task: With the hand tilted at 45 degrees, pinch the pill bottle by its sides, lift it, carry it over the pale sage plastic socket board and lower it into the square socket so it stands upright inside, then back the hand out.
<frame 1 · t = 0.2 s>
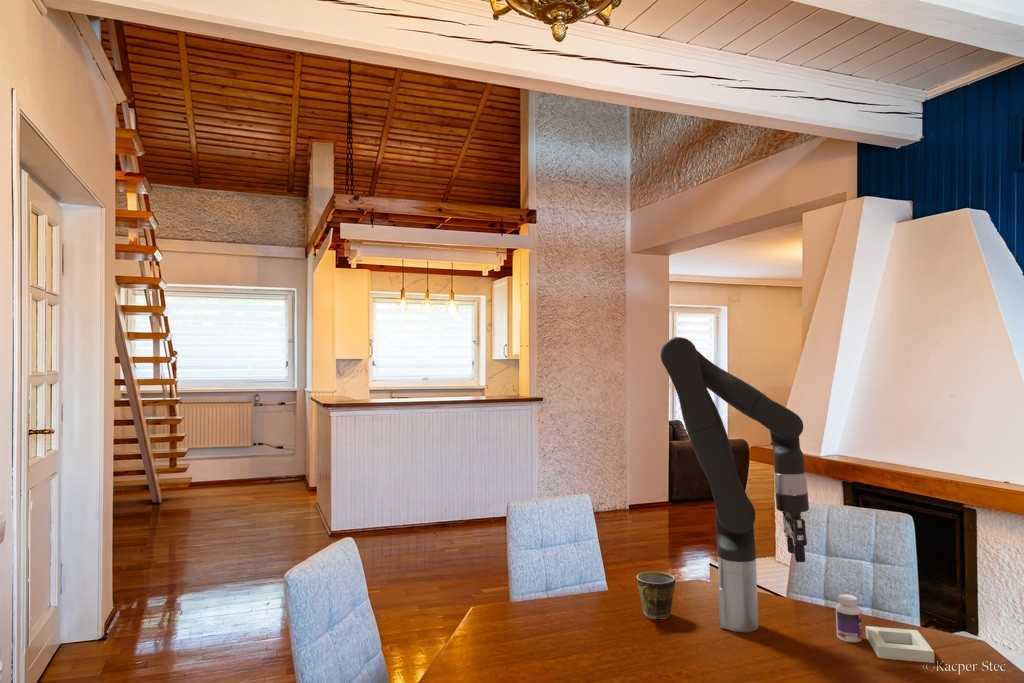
hand: (796, 557, 165), 18 cm above the table, tool pointing down, fingers open, 8 cm apart
socket board: (898, 649, 153), on the table
ceramic cup: (654, 618, 175), on the table
pill bottle: (849, 639, 159), on the table
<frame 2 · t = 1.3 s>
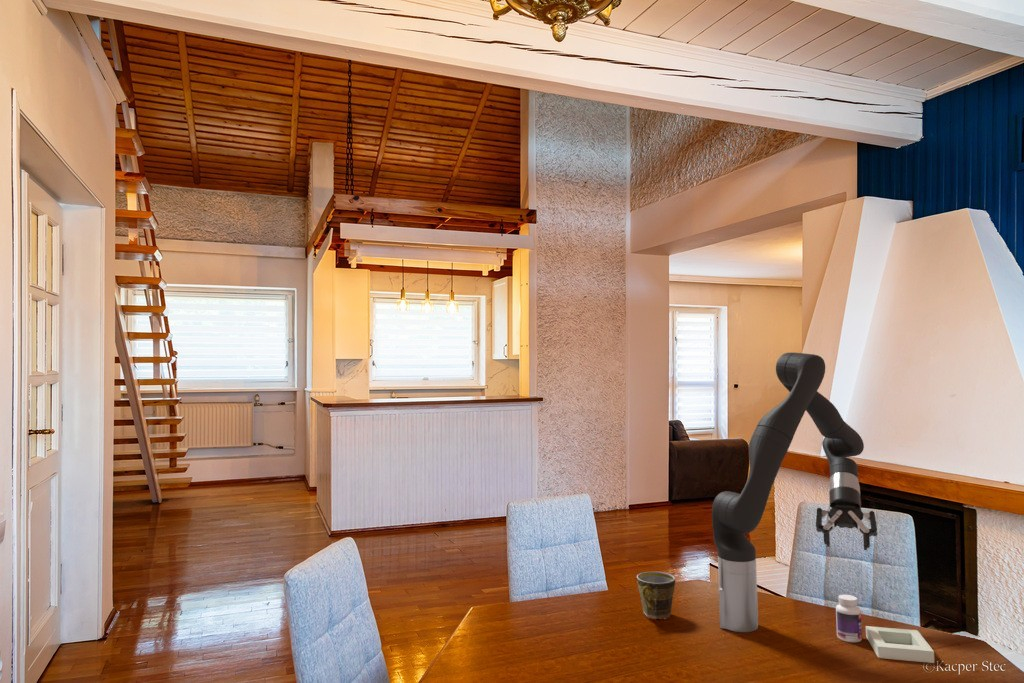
hand: (846, 546, 170), 19 cm above the table, tool tilted 45°, fingers open, 8 cm apart
nothing on the table moved.
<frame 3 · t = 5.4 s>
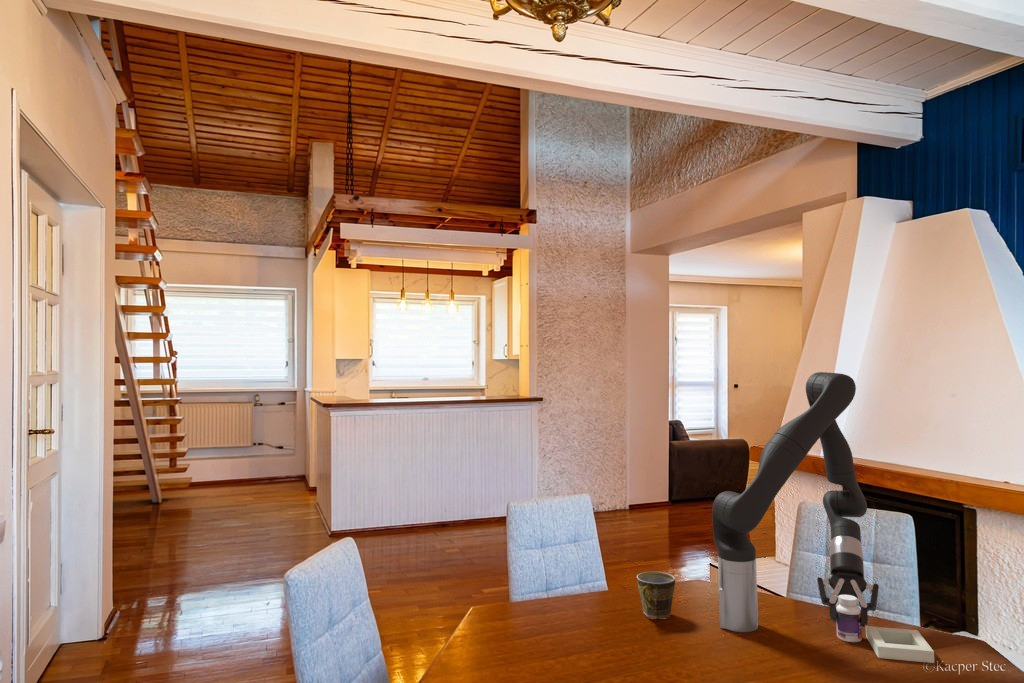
hand: (848, 622, 158), 4 cm above the table, tool tilted 45°, fingers closed on pill bottle, 5 cm apart
pill bottle: (849, 639, 159), on the table, touching gripper
everything else where it was.
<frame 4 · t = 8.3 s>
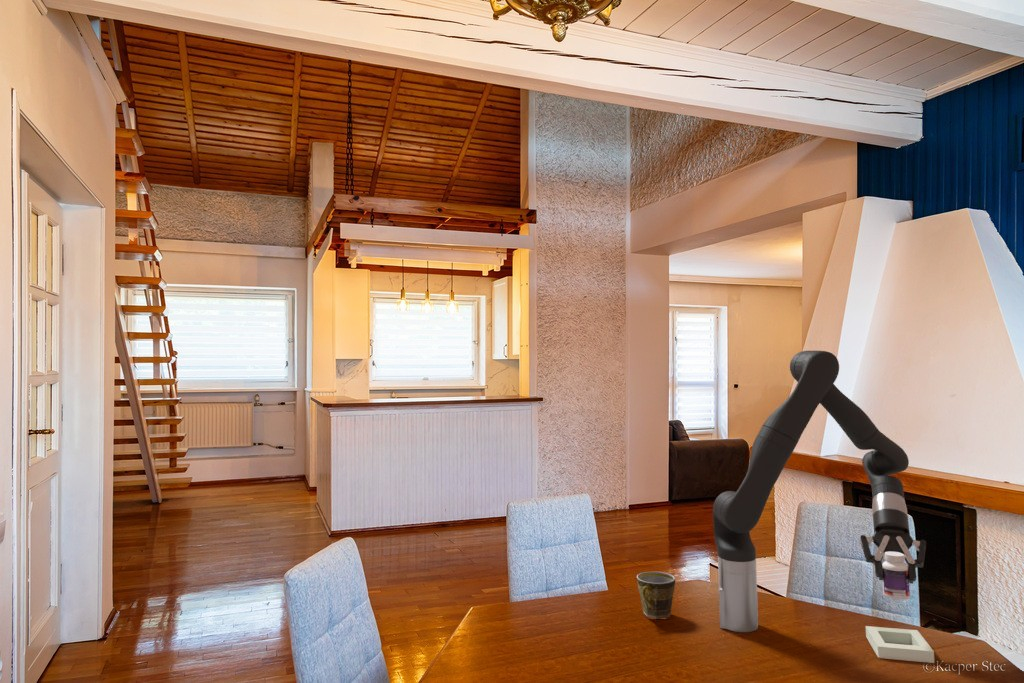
hand: (896, 579, 152), 16 cm above the table, tool tilted 45°, fingers closed on pill bottle, 5 cm apart
pill bottle: (896, 597, 153), point 12 cm above the table, touching gripper
everything else where it was.
when the fingers open (6 cm above the table, at t = 11.3 s): pill bottle drops 1 cm, resting in socket board.
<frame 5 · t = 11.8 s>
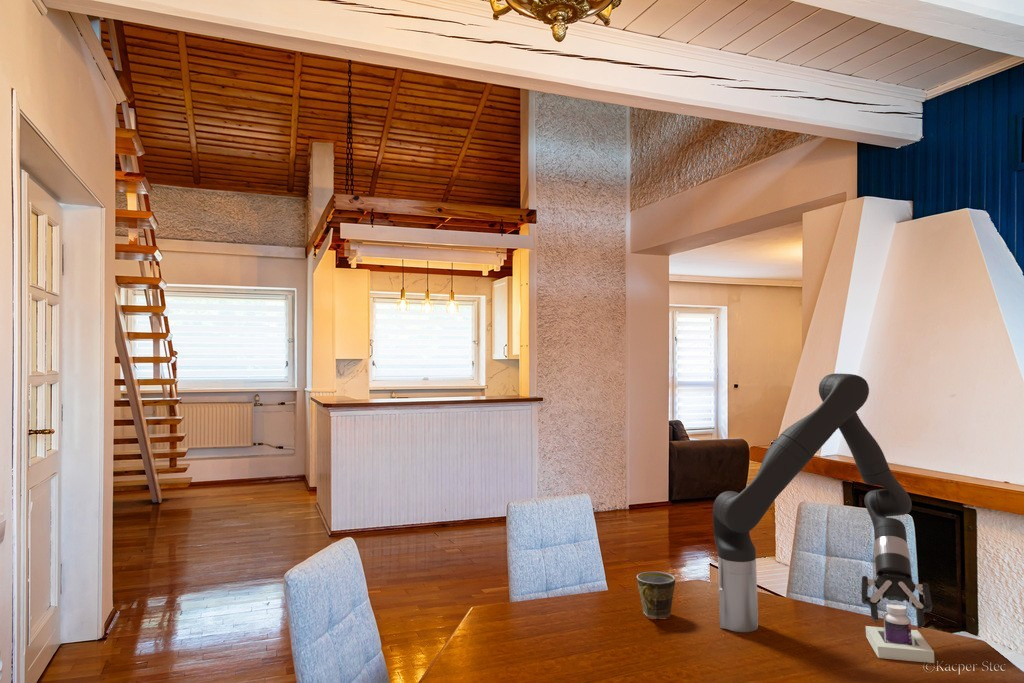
hand: (897, 624, 152), 6 cm above the table, tool tilted 45°, fingers open, 8 cm apart
pill bottle: (898, 649, 153), resting in socket board
everything else where it was.
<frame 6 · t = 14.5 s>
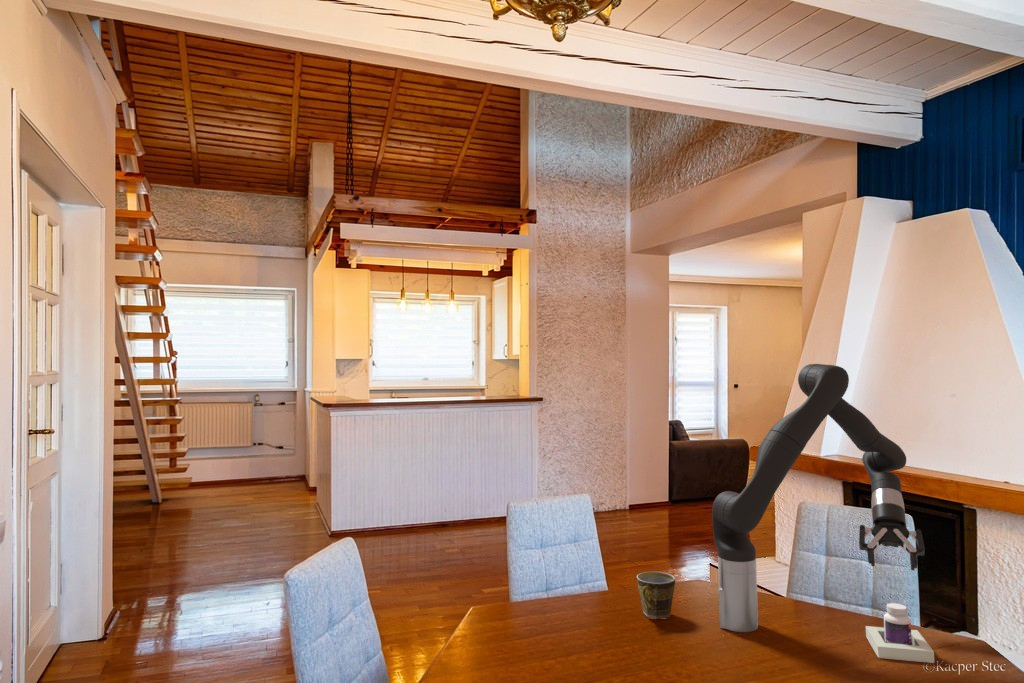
hand: (892, 566, 163), 16 cm above the table, tool tilted 45°, fingers open, 8 cm apart
nothing on the table moved.
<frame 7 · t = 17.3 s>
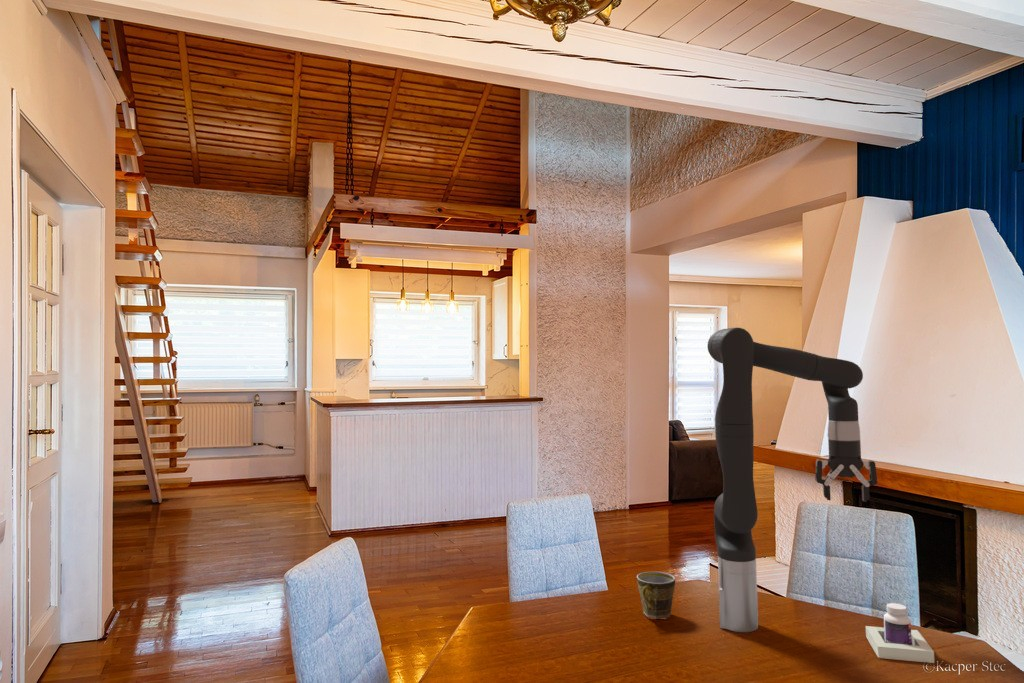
hand: (846, 500, 173), 30 cm above the table, tool pointing down, fingers open, 8 cm apart
nothing on the table moved.
at the end: pill bottle 0.2 cm off-centre on the socket board, point 0.0 cm above the socket board's base; pill bottle tilted 0°; the gripper is holding nothing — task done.
